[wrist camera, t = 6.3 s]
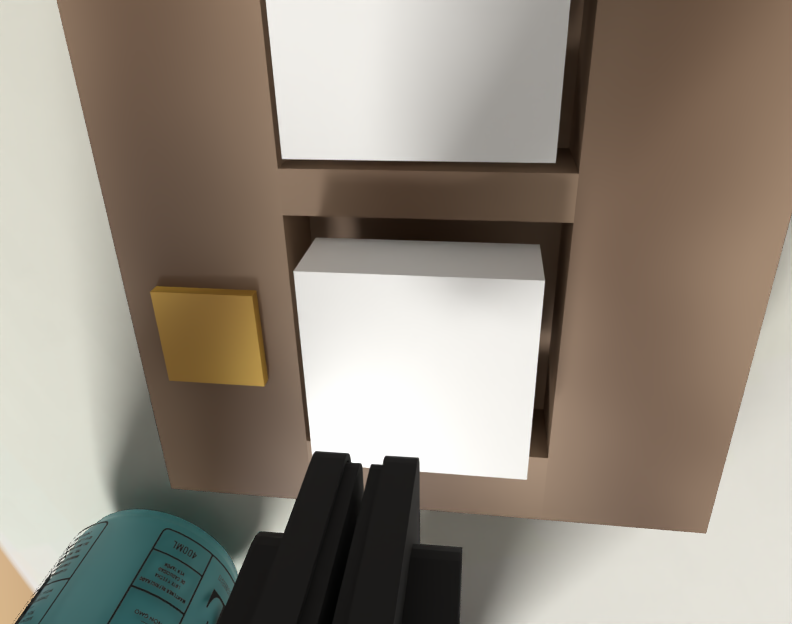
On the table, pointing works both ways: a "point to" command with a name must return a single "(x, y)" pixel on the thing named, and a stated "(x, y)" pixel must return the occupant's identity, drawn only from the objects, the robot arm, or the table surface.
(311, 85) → the key middle
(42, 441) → the table surface
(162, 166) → the keypad
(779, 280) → the table surface
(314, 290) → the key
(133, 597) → the beverage bottle
